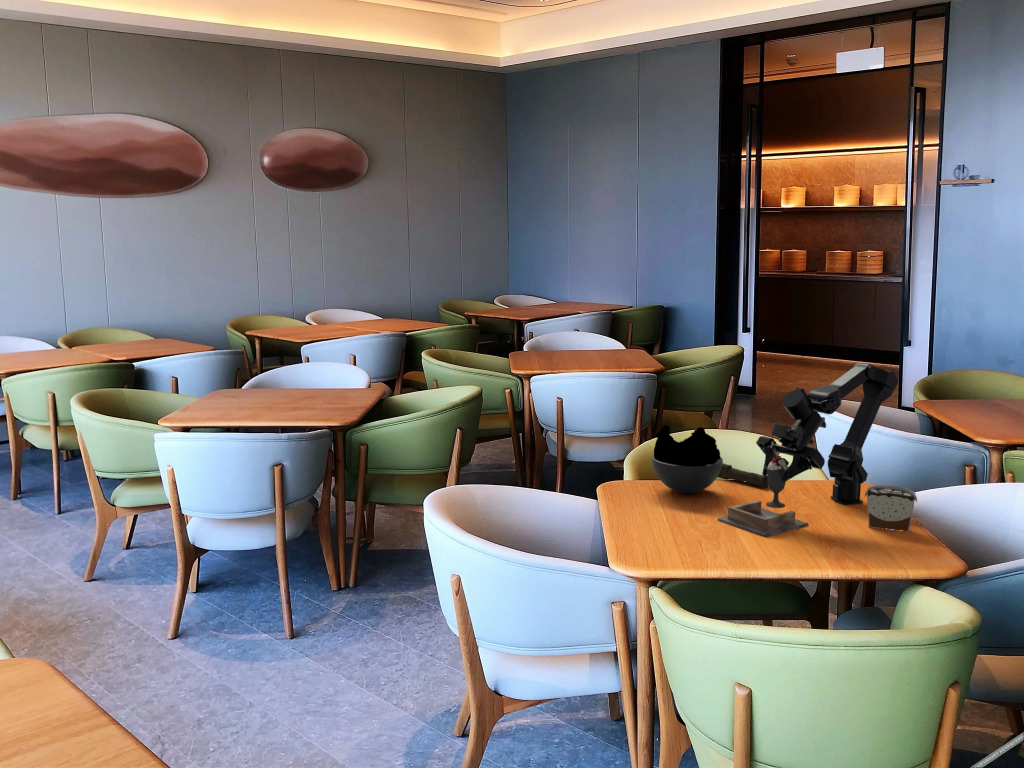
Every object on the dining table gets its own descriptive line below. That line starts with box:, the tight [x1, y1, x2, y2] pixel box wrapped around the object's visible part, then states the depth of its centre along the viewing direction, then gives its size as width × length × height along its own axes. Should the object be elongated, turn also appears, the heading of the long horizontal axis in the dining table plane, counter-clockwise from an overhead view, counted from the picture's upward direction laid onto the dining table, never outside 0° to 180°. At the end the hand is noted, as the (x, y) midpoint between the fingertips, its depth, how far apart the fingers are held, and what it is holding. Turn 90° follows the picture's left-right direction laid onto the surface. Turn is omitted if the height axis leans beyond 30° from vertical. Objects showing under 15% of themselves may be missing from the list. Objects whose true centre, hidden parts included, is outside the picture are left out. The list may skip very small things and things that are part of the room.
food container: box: [864, 484, 918, 532], centre depth 237 cm, size 12×6×10 cm, turn 65°
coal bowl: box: [651, 424, 724, 494], centre depth 267 cm, size 20×20×19 cm
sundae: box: [763, 451, 790, 509], centre depth 242 cm, size 7×7×15 cm
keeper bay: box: [717, 499, 809, 538], centre depth 241 cm, size 16×16×4 cm
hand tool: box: [717, 463, 769, 490], centre depth 279 cm, size 19×4×5 cm, turn 39°
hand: (773, 477), depth 241 cm, fingers closed on sundae, 6 cm apart
